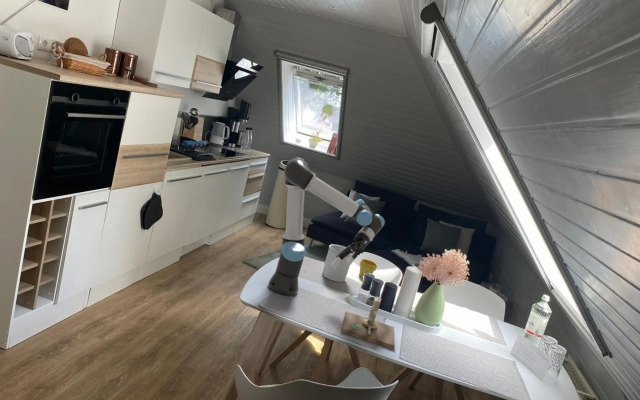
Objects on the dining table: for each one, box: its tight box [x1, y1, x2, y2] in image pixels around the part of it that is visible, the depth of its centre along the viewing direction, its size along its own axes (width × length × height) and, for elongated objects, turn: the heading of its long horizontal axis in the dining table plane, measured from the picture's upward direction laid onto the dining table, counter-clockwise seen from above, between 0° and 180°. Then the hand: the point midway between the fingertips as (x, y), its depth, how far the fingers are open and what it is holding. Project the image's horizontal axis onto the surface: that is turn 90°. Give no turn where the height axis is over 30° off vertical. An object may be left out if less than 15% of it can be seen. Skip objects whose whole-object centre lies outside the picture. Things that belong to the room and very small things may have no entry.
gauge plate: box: [340, 311, 396, 350], centre depth 230 cm, size 24×20×2 cm
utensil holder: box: [321, 243, 352, 283], centre depth 288 cm, size 15×15×18 cm
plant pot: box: [358, 258, 378, 279], centre depth 305 cm, size 10×10×10 cm
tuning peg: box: [362, 296, 382, 334], centre depth 227 cm, size 7×14×13 cm, turn 173°
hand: (340, 265), depth 240 cm, fingers open, 13 cm apart
